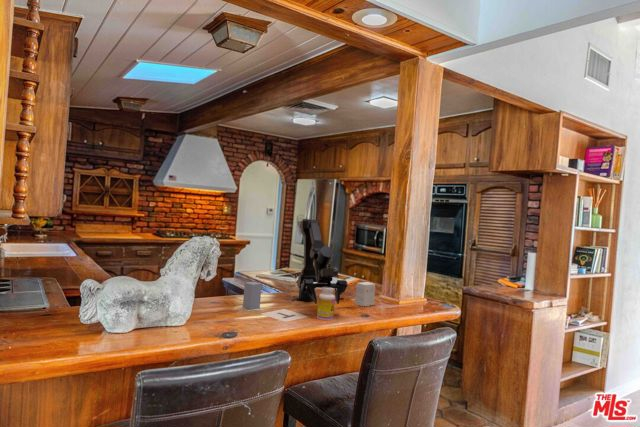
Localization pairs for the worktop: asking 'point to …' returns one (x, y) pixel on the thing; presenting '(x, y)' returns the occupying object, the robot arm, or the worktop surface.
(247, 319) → the worktop surface
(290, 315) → the pad
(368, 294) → the small box
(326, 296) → the supplement bottle
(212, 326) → the worktop surface
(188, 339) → the worktop surface
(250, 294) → the gray block
